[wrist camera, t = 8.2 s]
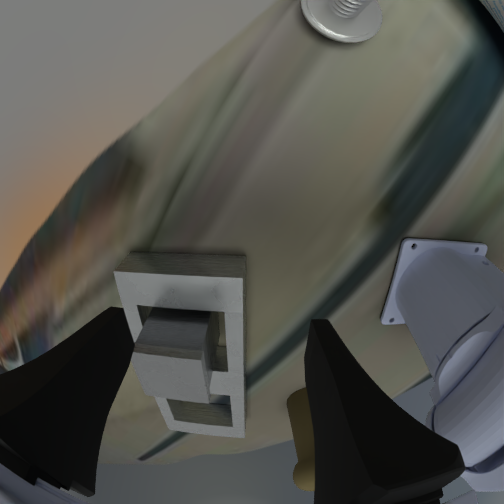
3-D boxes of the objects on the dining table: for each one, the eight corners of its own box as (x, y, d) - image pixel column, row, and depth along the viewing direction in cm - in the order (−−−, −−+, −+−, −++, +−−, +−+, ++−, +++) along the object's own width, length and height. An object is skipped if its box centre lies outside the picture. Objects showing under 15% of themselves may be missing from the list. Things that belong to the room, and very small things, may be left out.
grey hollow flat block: (245, 255, 21) (242, 278, 18) (246, 417, 30) (244, 437, 28) (130, 251, 21) (113, 271, 18) (174, 410, 31) (169, 429, 28)
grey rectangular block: (218, 291, 22) (200, 360, 16) (221, 336, 24) (209, 403, 18) (160, 288, 22) (127, 351, 16) (169, 332, 24) (145, 394, 18)
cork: (308, 418, 30) (313, 497, 20) (275, 401, 29) (274, 491, 19) (349, 398, 28) (365, 482, 18) (319, 378, 26) (331, 476, 17)
